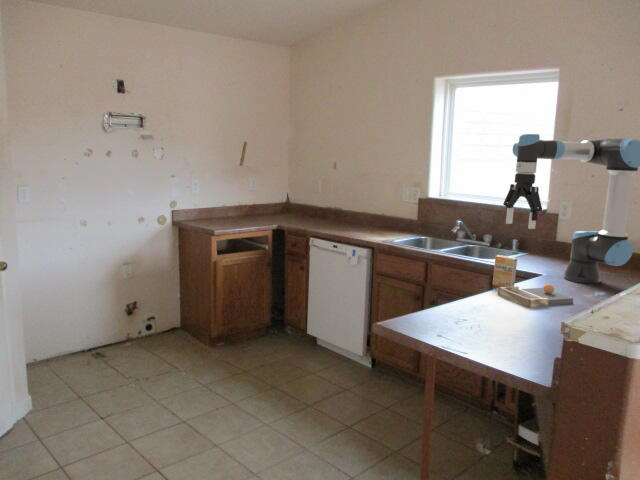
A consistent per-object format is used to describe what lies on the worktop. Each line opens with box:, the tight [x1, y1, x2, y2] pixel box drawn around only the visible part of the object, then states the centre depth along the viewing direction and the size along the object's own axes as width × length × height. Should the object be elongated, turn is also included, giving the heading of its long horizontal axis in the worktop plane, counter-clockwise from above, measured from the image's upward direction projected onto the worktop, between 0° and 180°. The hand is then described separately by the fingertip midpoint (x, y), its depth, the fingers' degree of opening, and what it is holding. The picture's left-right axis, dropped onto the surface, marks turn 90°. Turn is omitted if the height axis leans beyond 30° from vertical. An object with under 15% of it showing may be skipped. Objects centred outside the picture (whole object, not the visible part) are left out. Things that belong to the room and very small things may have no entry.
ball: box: [542, 283, 555, 294], centre depth 211 cm, size 4×4×4 cm
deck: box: [518, 287, 574, 306], centre depth 211 cm, size 13×16×2 cm
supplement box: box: [492, 254, 518, 287], centre depth 227 cm, size 8×5×13 cm, turn 52°
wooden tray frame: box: [497, 285, 549, 308], centre depth 208 cm, size 9×18×3 cm, turn 19°
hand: (519, 226), depth 213 cm, fingers open, 13 cm apart
